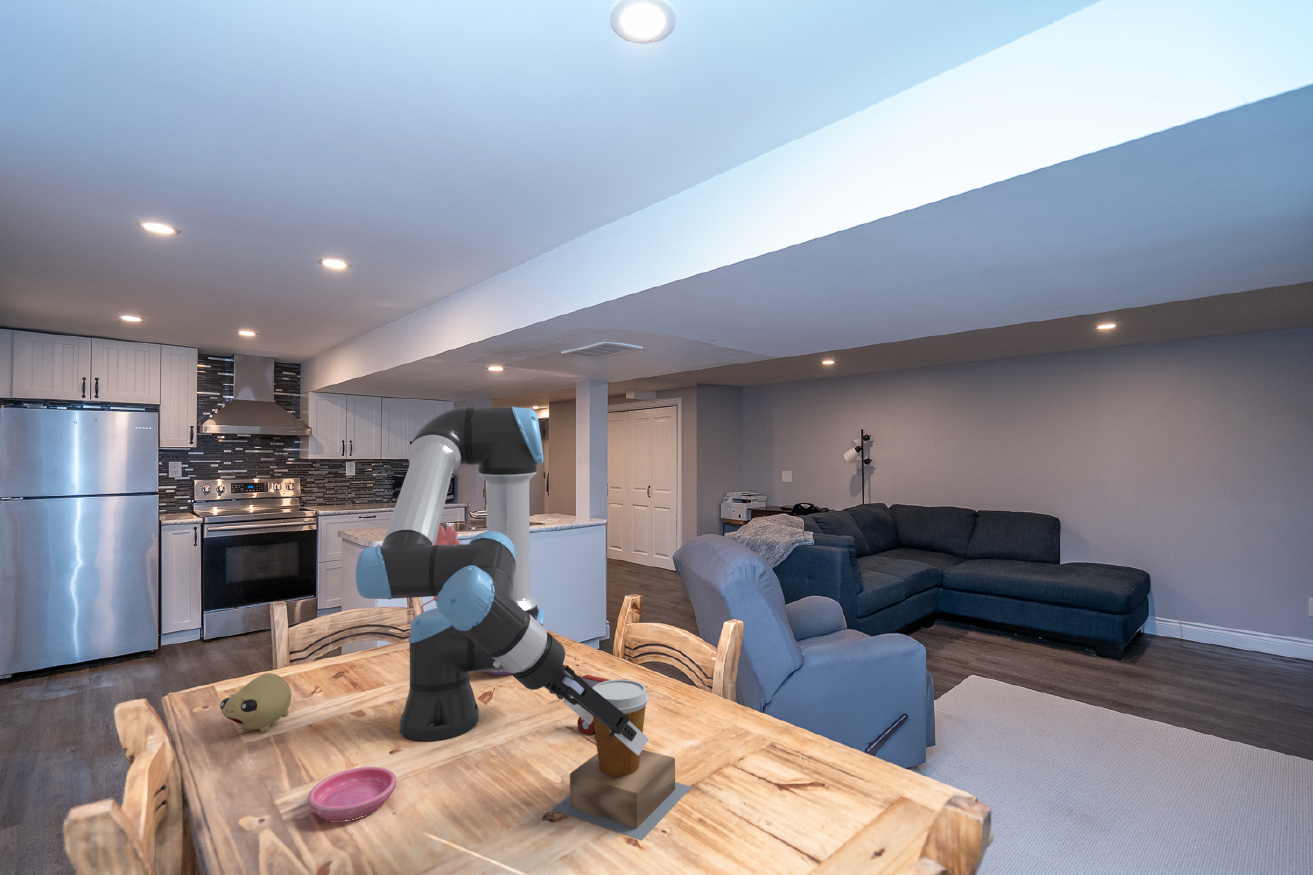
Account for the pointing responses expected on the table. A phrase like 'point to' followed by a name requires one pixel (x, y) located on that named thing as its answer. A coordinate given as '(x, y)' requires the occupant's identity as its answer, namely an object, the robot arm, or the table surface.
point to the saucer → (352, 793)
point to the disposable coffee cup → (632, 703)
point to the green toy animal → (259, 703)
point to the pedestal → (623, 789)
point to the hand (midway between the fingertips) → (616, 730)
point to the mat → (622, 828)
